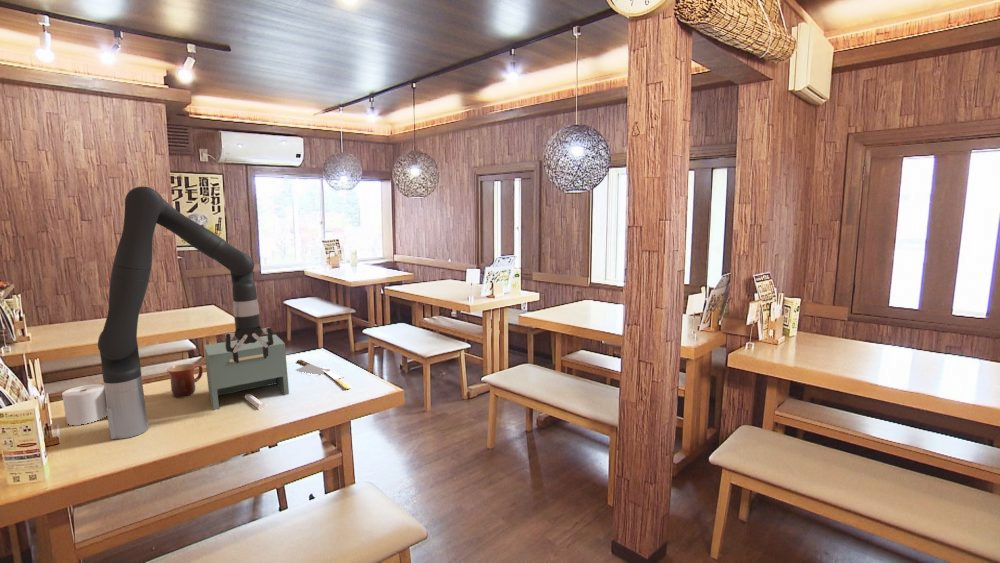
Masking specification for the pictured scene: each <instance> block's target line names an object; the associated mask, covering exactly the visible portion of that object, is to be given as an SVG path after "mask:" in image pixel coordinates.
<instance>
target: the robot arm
mask: <svg viewBox="0 0 1000 563" xmlns="http://www.w3.org/2000/svg"><path fill="white" fill-rule="evenodd" d="M123 217H124V219H123V226H122V227H123V228H122V233H121V235H120V236H121V237H120V239H119V242H118V245H117V248H116V251H115V255H114V259H113V263H112V267H111V268H112V269H111V274H110V279H109V287H108V290H109V292H108V309H107V311H108V312H107V315H106V319H105V323H104V326H103V328H102V331H101V332H100V334H99V336H98V340H97V349H98V351H99V354H100V362H101V373H102V380H103V385H104V388H105V395H106V402H107V423H108V430H109V436H110V440H117V439H119V440H120V439H127V438H128V439H129V438H132V437H136V436H139V435H141V434H144V433H146V432H147V431H148V430H149V422H148V416H147V407H146V402H145V401H146V400H145V393H144V392H145V391H144V385H143V376H142V368H141V362H140V359H141V358H140V355H139V354H140V353H139V345H138V344H139V343H138V340H137V339H138V337H137V336H138V335H137V334H138V325H139V315H140V312H141V308H142V305H143V302H144V300H145V297H146V296H145V295H146V293H147V289H148V285H149V281H150V277H151V271H152V264H153V241H154V240H153V239H154V233H155V228H156V226H157V224H158V225H159V226H161V227H163V228H165V229H166V230H168V231H170V232H171V233H173V234H175V235H176V236H177V237H179V238H180V239H181V240H183V241H184V242H185V243H187V244H188V245H190V246H191V247H193V248H194V249H196V250H197V251H199V252H201V253H202V254H204V255H206V256H207V257H209V258H210V259H212V260H214V261H216V262H218V263H219V264H220V265H221V266H222V267H224V268H225V269H227V270H228V271H229V272H230V277H231V284H232V299H233V301H232V302H233V309H232V310H233V318H234V328H235V331H234V332H226V333H225V334H224V336H225V338H224V339H225V341H224V342H225V343H226V350H227V352H232V353H233V360H234V362H236V363H239V358H238V352H237V351H238V349H239V348H240V347H241V346H242V344H248V343H255V342H256V341H258V342H259V343H261V344H262V345H263V347H262V348H263V357H264V359H265V358H267V356H268V346H270V345H273V337H272V335H273V331H272V328H271V327H270V326H267V327H265V328H262V326H261V317H260V309H259V308H260V307H259V306H260V305H259V302H258V296H257V295H258V293H257V287H256V284H255V279H254V278H255V277H254V269H255V262H254V259H253V258H252V257H251V256H250V255H249V254H247V253H244V252H243V251H242V250H239V249H238V248H235V247H234V246H232V245H231V244H230V243H229V242H228V241H226V240H225V239H224V238H222V237H221V236H219V235H218V234H216V233H215V232H213V231H211V230H210V229H208V228H206V227H205V226H203V225H201V224H200V223H198V222H195V221H194V220H192V219H191V218H189V217H188V216H185V215H184V214H183V213H182V212H181V211H178V210H177V209H176V208H175V207H173V206H172V205H171V204H170V203H169V202H168V201H166V200H165V199H164V198H163V197H162V195H161V194H160V193H159V192H158V191H157V190H155V189H154V188H152V187H148V186H144V185H143V186H142V185H141V186H137V187H134V188H131V190H129V191H128V192H127V194H126V195H125V197H124V216H123ZM263 333H264V334H265V335H266V336H267V337H268V342H266V343H265V342H264V341H263V340H262V339H261V338H260V337H262V334H263ZM234 337H235V338H236V340H237V342H236V343H235V345H234V347H233V348H232V347H231V341H233V338H234Z"/></svg>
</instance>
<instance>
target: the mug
mask: <svg viewBox="0 0 1000 563" xmlns="http://www.w3.org/2000/svg"><path fill="white" fill-rule="evenodd" d="M196 368H198V375H197V376H196V377H195V375H194V373H195V370H196ZM166 371H167V373H168V377H169V379H170V380H169V381H170V387H171V388H170V391H171V394H172V396H173V397H175V398H185V396H186V397H189V396H191V394H192V395H193V394H194V393H195V391H196V383H197V382H199V380H200V379H201V378H202V376H203V371H204V369H203V365H201V364H193V363H184V364H183V363H182V364H176V365H174V366H170V367H168V368H167V369H166Z"/></svg>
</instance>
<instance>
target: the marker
mask: <svg viewBox="0 0 1000 563" xmlns="http://www.w3.org/2000/svg"><path fill="white" fill-rule="evenodd" d="M244 399H245V400H246V401H248V402H249V403H250V404H251V403H252V404H251V405H253V406H254V407H255V408H257V409H258V410H259V409H260V410H264V409H265V408H266V404H265V403H264V402H262V401H260V399H258V398H256V397H255V396H254V395H253V394H252V393H246V394H245V397H244ZM263 408H264V409H263Z"/></svg>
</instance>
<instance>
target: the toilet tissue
mask: <svg viewBox="0 0 1000 563" xmlns="http://www.w3.org/2000/svg"><path fill="white" fill-rule="evenodd" d="M61 394H62V396H61V397H62V400H63V407H64V416H65V422H66V424H67V425H68V424H69V425H68V426H72V425H74V426H82V425H81V424H84V425H88V424H87V423H89V424H92V423H91V422H93V423H94V421H96V422H98V421H97V420H99V421H101V420H103V419H105V418H106V417H105V416H107V402H106V395H105V388H104V384H101V383H98V384H97V383H94V384H85V385H81V386H80V385H79V386H76V387H73V388H72V387H71V388H69V389H66V390H65V391H63V392H62V393H61ZM104 417H105V418H104ZM107 417H108V416H107ZM102 418H103V419H102ZM100 419H101V420H100Z"/></svg>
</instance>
